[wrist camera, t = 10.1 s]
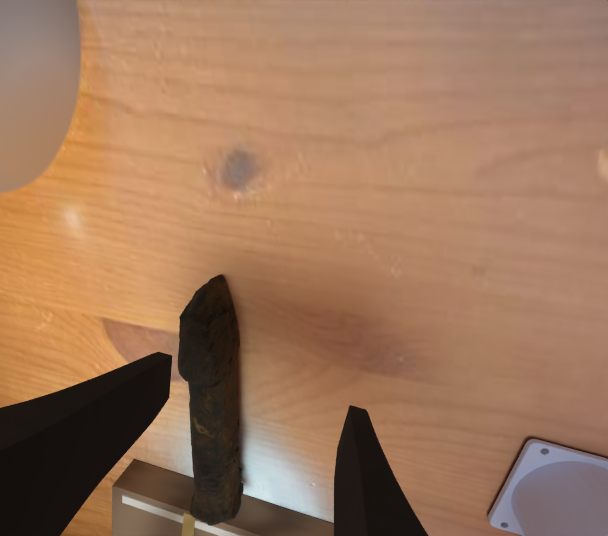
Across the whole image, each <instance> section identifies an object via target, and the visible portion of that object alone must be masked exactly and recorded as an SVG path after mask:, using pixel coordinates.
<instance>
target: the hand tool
mask: <svg viewBox="0 0 608 536" xmlns="http://www.w3.org/2000/svg"><path fill="white" fill-rule="evenodd" d="M179 338H180V342H179V353H178V370H179V373H180V375H181V376H182V377H183V379H184V380H185V381H188V384H189V393H190V402H189V407H190V429H191V445H192V460H193V473H194V486H195V493H194V495H193V497H192V501H191V505H190V514H191V515H192V517H194V518H196V519H198V520H200V521H201V522H205V523H207V524H208V525H209V526H213V525H216V524H219V523H222V522H225V521H228V520H232V519H234V518H235V517H236V515H237V514H238V512H239V509H240V506H241V496H242V493H243V483H242V482H241V468H240V467H239V464H238V462H239V448H238V435H237V433H238V425H239V420H238V416H237V382H236V373H237V371H236V360H237V353H238V348H239V346H240V342H239V331H238V324H237V320H236V315H235V311H234V307H233V303H232V300H231V296H230V293H229V290H228V288H227V285H226V281H225V279H224V277H223V276H222V275H218V276H216V277H214V278H212V279H210V280H209V282H208V283H206V284H204V285H203V286H202V287H201V288H200V289H199V290H197V291H196V292H195V294H194V296H193V298H192V300H191V301H190V302H189V304H188V305H187V306H186V308H185V309H184V311H183V313H182V314H181V316H180V332H179Z"/></svg>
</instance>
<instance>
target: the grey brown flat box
mask: <svg viewBox="0 0 608 536" xmlns="http://www.w3.org/2000/svg"><path fill="white" fill-rule="evenodd" d="M194 493H195V486H194V479H193V478H190V477H187V476H184V475H181V474H178V473H175V472H172V471H169V470H166V469H163V468H159V467H156V466H153V465H150V464H147V463H144V462H141V461H138V460H135V459H134V460H133V461H132V462H131V464H130V465H129V466H128V467H127V468H126V470H125V471H124V472H123V473H122V475H121V476H120V477H119V478H118V479H117V481H116V482H115V483H114V484H113V486H112V536H334V524H332V523H329V522H326V521H323V520H320V519H317V518H314V517H311V516H308V515H305V514H302V513H298V512H295V511H292V510H289V509H286V508H283V507H280V506H277V505H274V504H271V503H268V502H264V501H261V500H258V499H255V498H252V497H249V496H246V495H243V494H242V496H241V506H240V509H239V512H238V514H237V515H236V517H235V518H234V519H232V520H228V521H225V522H222V523H219V524H216V525H213V526H209V525H208V524H207V523H205V522H201V521H200V520H198V519H196V518H194V517H192V515H191V514H190V505H191V501H192V497H193V495H194Z"/></svg>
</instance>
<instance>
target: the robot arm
mask: <svg viewBox="0 0 608 536" xmlns="http://www.w3.org/2000/svg"><path fill="white" fill-rule="evenodd" d="M171 366H172V355H168V354H165V353H161V352H156V353H154V354H151V355H148V356H146V357H144V358H141V359H139V360H136V361H134V362H132V363H129V364H127V365H125V366H122V367H120V368H117V369H115V370H113V371H110V372H108V373H105V374H103V375H101V376H98V377H95V378H93V379H90V380H87V381H85V382H82V383H79V384H77V385H74V386H71V387H69V388H66V389H63V390H60V391H57V392H54V393H51V394H48V395H45V396H42V397H38V398H35V399H32V400H28V401H25V402H21V403H18V404H14V405H10V406H6V407H2V408H0V536H60V535H61V534H62V532H63V531H64V529H65V528H66V527H67V525H68V524H69V522H70V521H71V520H72V518H73V517H74V516H75V514H76V513H77V512H78V510H79V509H80V508H81V506H82V505H83V504H84V502H85V501H86V500H87V498H88V497H89V496H90V494H91V493H92V492H93V490H94V489H95V488H96V487H97V485H98V484H99V483H100V482H101V480H102V479H103V478H104V477H105V476H106V474H107V473H108V472H109V471H110V470H111V469H112V468H113V467H114V465H115V464H116V463H117V462H118V461H119V460H120V459H121V457H122V456H123V455H124V454H125V453H126V452H127V451H128V449H129V448H130V447H131V446H132V445H133V444H134V443H135V442H136V440H137V439H138V438H139V437H140V436H141V435H142V433H143V432H144V431H145V430H146V429H147V428H148V427H149V425H150V424H151V423H152V422H153V420H154V419H155V418H156V416H157V415H158V413H159V412H160V411H161V409H162V408H163V406H164V405H165V403H166V402H167V400H168V399H169V393H170V379H171ZM544 448H545V449H544ZM542 449H543V450H542ZM488 520H489V522H490V524H491V525H492V526H493V527H496V528H499V529H502V530H506V531H509V532H512V533H515V534H519V535H522V536H608V459H607V458H603V457H600V456H596V455H592V454H589V453H585V452H581V451H578V450H574V449H570V448H567V447H563V446H559V445H556V444H552V443H548V442H545V441H541V440H537V439H530V440H528V441H527V442H526V444H525V446H524V448H523V450H522V452H521V454H520V455H519V457H518V459H517V461H516V463H515V465H514V467H513V469H512V471H511V473H510V475H509V477H508V479H507V480H506V482H505V484H504V486H503V488H502V490H501V492H500V494H499V496H498V498H497V500H496V502H495V504H494V505H493V507H492V509H491V511H490V513H489V515H488ZM334 536H428V534H427V533H426V531H425V530H424V528H423V526H422V525H421V523H420V521H419V520H418V518H417V516H416V515H415V513H414V511H413V510H412V508H411V506H410V504H409V503H408V501H407V499H406V497H405V495H404V493H403V492H402V490H401V488H400V486H399V484H398V482H397V480H396V478H395V476H394V474H393V472H392V470H391V468H390V466H389V463H388V461H387V459H386V457H385V455H384V452H383V450H382V448H381V446H380V443H379V441H378V438H377V436H376V433H375V431H374V428H373V426H372V423H371V420H370V417H369V414H368V412H367V411H366V410H365V409H362V408H358V407H355V406H351V405H350V406H349V410H348V413H347V416H346V420H345V423H344V427H343V430H342V434H341V437H340V441H339V444H338V448H337V457H336V466H335V476H334Z"/></svg>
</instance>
